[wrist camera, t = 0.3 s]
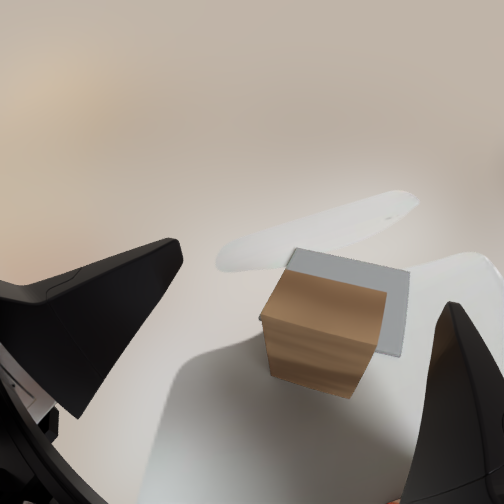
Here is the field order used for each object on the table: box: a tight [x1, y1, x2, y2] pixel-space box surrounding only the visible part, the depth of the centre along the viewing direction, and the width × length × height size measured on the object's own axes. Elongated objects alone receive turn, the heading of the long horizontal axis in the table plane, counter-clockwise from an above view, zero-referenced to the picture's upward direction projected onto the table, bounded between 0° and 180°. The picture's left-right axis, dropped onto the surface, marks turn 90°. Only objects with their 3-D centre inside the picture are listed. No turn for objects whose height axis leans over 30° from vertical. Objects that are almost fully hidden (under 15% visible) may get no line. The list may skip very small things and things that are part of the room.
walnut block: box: [261, 269, 387, 399], centre depth 19 cm, size 4×7×9 cm, turn 64°
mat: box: [259, 248, 410, 357], centre depth 27 cm, size 11×14×1 cm
